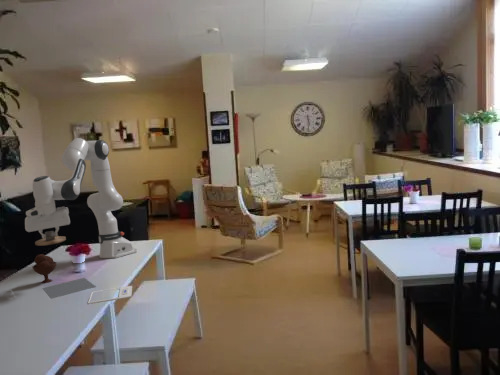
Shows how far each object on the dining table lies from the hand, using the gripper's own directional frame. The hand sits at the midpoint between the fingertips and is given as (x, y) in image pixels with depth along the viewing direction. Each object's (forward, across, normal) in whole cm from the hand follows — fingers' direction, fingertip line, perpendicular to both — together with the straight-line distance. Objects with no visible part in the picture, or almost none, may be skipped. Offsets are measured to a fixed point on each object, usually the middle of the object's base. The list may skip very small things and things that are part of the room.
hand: (50, 237), depth 215 cm
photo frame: (+25, -14, +38) cm, 48 cm away
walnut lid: (+2, 0, 0) cm, 2 cm away
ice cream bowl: (+25, +3, -8) cm, 26 cm away
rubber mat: (+24, -3, +12) cm, 27 cm away
